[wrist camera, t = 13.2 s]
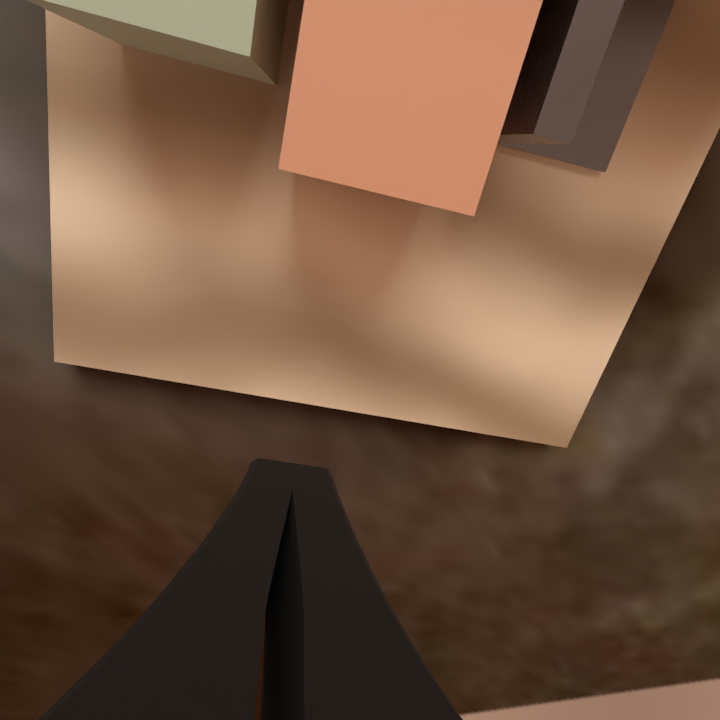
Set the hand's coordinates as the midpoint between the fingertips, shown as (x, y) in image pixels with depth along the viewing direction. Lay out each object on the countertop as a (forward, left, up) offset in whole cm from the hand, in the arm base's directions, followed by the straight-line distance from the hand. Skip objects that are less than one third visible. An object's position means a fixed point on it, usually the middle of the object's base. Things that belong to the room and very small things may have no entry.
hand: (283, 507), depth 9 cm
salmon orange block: (+9, -1, -8) cm, 12 cm away
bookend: (+10, -6, -8) cm, 14 cm away
